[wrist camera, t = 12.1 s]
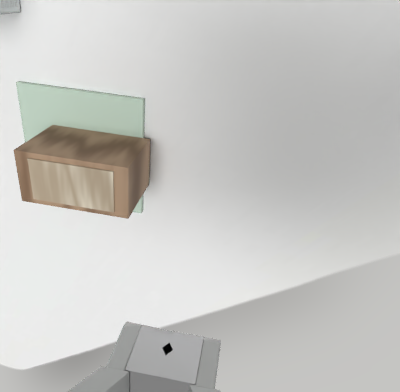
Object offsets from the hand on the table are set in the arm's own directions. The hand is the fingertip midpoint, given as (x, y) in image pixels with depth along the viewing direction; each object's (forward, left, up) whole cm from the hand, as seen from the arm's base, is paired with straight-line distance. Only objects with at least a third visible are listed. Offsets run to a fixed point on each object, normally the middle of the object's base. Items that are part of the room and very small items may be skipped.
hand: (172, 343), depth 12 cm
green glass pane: (+18, +10, -33) cm, 39 cm away
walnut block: (+10, +10, -28) cm, 32 cm away
